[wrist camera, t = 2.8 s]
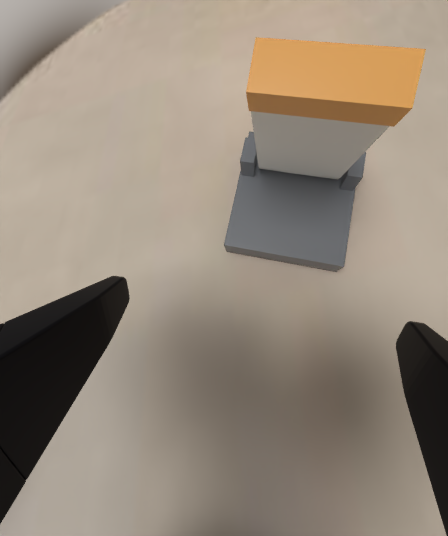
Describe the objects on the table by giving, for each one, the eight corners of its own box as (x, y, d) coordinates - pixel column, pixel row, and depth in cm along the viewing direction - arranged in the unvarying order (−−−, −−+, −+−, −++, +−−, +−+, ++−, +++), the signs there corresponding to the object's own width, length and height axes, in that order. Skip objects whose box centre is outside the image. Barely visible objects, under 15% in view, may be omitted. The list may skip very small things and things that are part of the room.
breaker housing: (336, 271, 23) (353, 260, 19) (226, 251, 24) (220, 237, 20) (352, 159, 24) (371, 127, 20) (249, 146, 26) (248, 114, 22)
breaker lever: (335, 185, 22) (412, 108, 10) (258, 174, 23) (246, 91, 11) (340, 159, 22) (425, 48, 10) (263, 149, 22) (255, 37, 11)
